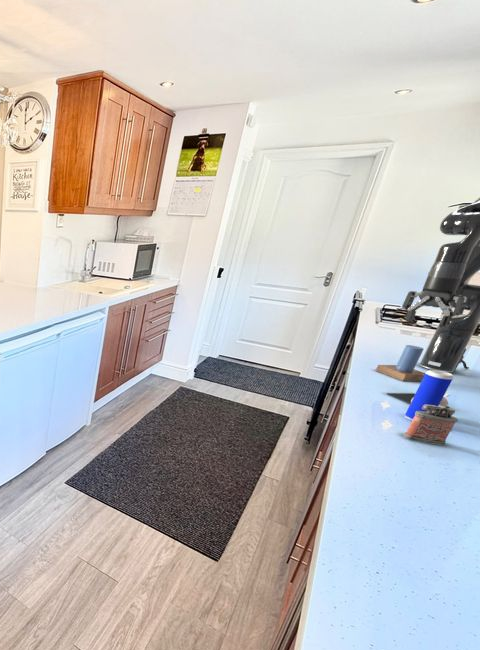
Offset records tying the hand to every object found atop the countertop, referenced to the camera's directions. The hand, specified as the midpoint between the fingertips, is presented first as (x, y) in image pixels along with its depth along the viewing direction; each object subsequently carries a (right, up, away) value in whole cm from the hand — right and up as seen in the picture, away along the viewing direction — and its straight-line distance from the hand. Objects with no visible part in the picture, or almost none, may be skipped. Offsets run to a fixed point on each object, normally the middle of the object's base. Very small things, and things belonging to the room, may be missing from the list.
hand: (425, 324), depth 138 cm
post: (+6, -16, +12) cm, 21 cm away
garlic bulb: (-19, -29, -16) cm, 39 cm away
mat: (-12, -26, -8) cm, 30 cm away
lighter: (-36, -35, -31) cm, 59 cm away
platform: (+6, -18, +13) cm, 23 cm away
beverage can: (-26, -31, -21) cm, 45 cm away
